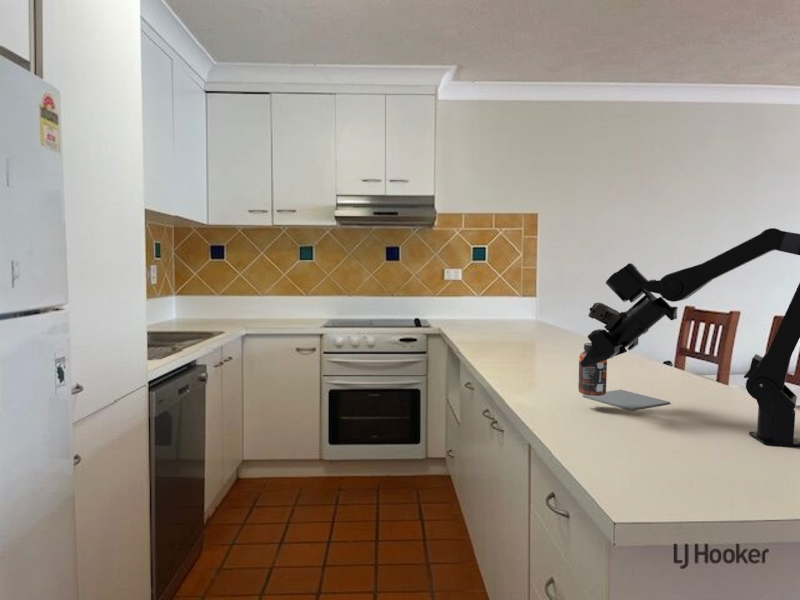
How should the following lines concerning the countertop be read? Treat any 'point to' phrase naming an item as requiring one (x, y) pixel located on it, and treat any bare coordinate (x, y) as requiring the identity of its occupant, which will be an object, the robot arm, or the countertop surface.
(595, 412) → the countertop surface
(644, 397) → the mat
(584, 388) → the supplement bottle
